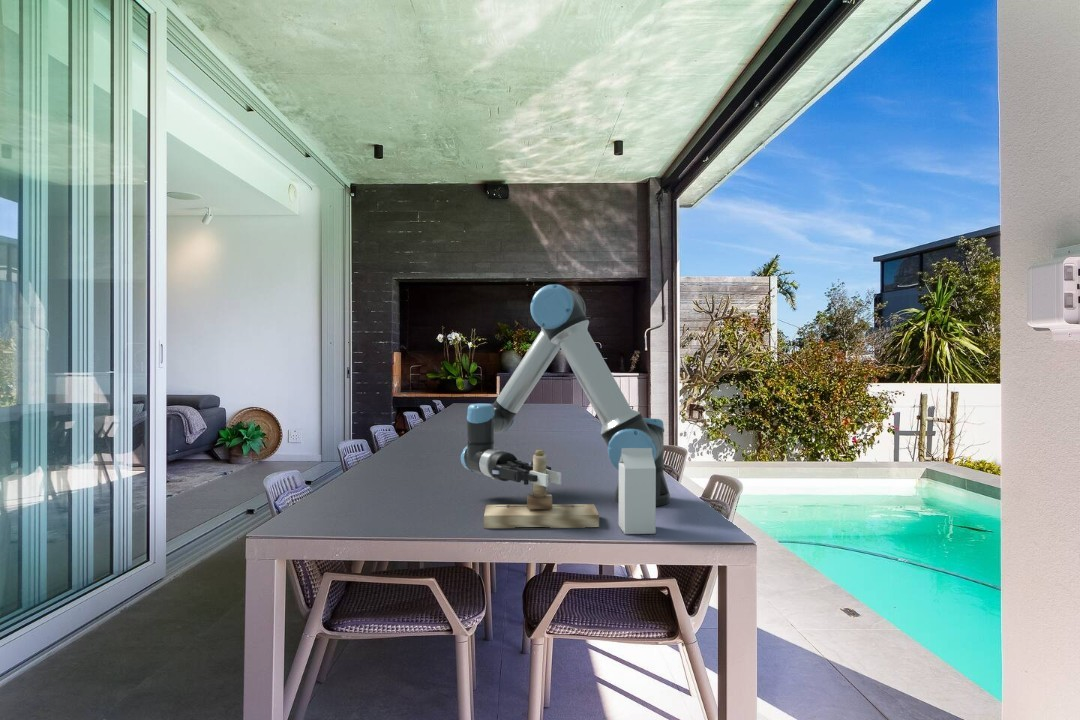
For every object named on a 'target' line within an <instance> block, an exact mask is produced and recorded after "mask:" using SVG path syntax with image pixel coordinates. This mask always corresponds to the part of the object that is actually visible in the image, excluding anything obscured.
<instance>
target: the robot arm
mask: <svg viewBox="0 0 1080 720" xmlns="http://www.w3.org/2000/svg"><path fill="white" fill-rule="evenodd" d="M586 310H587V309H586V304H585V301H584V299H583V297H582V296H581V295H580V293H578V292H577V291H574V290H572V289H569V288H568V287H566V286H564V285H562V284H547V285H545V286H542V287H541V288H539V289H538V290H537V291H535V293H534V295H533V296H532V299H531V302H530V315H531V317H532V319H533V321H534V322H535V323H536V325H537V326H539V327H540V329H541V330H540V332H539V333H538V335H537V336H536V337H535V339H534V341H533V342H532V344H531V345H530V346H529V348H528V350H527V351H526V353H525V355H524V356H523V358H522V359H521V361H520V362H519V363H518V366H517V367H516V368H515V370H514V371H513V373H512V374H511V376H510V378H509V379H508V381H507V382H506V383H505V386H504V387H503V388H502V390H501V391H500V393H499V394H498V396H497V398H496V400H495V401H494V402H493V404H491V403H471V404H469V405H468V407H467V415H466V425H467V426H466V429H467V430H466V432H467V433H466V434H467V435H466V437H467V439H466V440H467V442H466V446H465V447H464V448H463V449H462V452H461V454H460V462H461V465H462V466H463V468H465V469H466V470H468V471H470V472H471V473H473V474H479V475H483V476H486V477H489V478H491V479H492V480H498V481H502V482H508V481H512V482H515V483H521V482H522V481H523V485H525V486H528V485H529V483H532V484H533V483H535V484H538V485H542V486H545V487H546V488H547V487H549V483H551V484H556V485H562V472H559V471H555V470H552V467H551V466H548V465H547V464H546V474H543V473H540V472H536V471H533V460H532V461H530V462H529V463H528V462H524V461H522V460H519V459H518V458H517V457H516V456H515V454H513V453H511V452H508V451H504V450H500V449H495V434H500V433H504V432H507V431H508V430H509V429H511V428H512V427H513V425H514V424H515V420H516V415H517V414H518V412H519V411H520V409H521V408H522V406H523V405H524V403H525V402H526V400H527V399H528V398H529V395H530V394H531V393H532V391H533V390H534V389H535V387H536V386H537V384H538V382H539V381H540V380H541V378H542V376H543V375H544V374H545V372H546V371H547V369H548V368H549V366H550V364H551V363H552V361H554V359H555V357H556V356H557V354H558V352H559V351H560V350H561V352H562V354H563V355H564V357H565V359H566V361H567V363H568V365H569V366H570V368H571V370H572V372H573V374H574V375H575V378H576V379H577V381H578V383H579V385H580V387H581V388H582V390H583V392H584V393H585V396H586V397H587V399H588V401H589V403H590V405H591V406H592V408H593V410H594V412H595V414H596V416H597V418H598V420H599V421H600V424H601V430H600V435H601V437H602V438H603V441H604V443H605V445H606V446H607V454H608V459H609V460H610V463H611V464H612V466H613V467H614V468H616V469H617V470H618V471H619V460H620V457H621V453H622V448H652V455H653V459H654V463H655V467H656V507H658V506H659V507H660V506H665V505H667V504H669V503H671V497H670V496H671V494H670V490H669V488H668V484H667V481H666V477H665V473H664V447H665V445H664V437H665V436H664V434H665V433H664V432H665V428H664V421H663V420H662V419H660V418H649V417H643V415H642V414H641V412H640V411H638V410H635V409H633V408H631V406H630V405H629V403H628V400H627V399H626V397H625V395H624V393H623V392H622V390H621V387H620V386H619V384H618V382H617V381H616V378H615V377H614V375H613V374H612V372H611V370H610V368H609V366H608V365H607V363H606V361H605V360H604V359H605V358H604V357H603V356H602V354H601V352H600V350H599V348H598V347H597V345H596V343H595V341H594V340H593V338H592V336H591V334H590V332H589V331H588V327H589V324H590V321H589V319H588V317H587V315H586V312H587V311H586ZM614 500H615V502H617V503H619V480H618V482H617V484H616V487H615V491H614Z"/></svg>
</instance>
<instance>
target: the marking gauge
mask: <svg viewBox="0 0 1080 720" xmlns="http://www.w3.org/2000/svg"><path fill="white" fill-rule="evenodd" d="M544 453H545V452H544V449H536V450H535V454H533V455H532V461H533V471H536V472H540V473H543V474H546V465H547V454H544ZM526 501H527V502H526V505H527V509H552V504H553V495H552V494H550V493H549V494H548V493H547V487H545V486H542V485H538V484H535V483H532V494H527V495H526Z"/></svg>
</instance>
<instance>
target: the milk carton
mask: <svg viewBox="0 0 1080 720" xmlns="http://www.w3.org/2000/svg"><path fill="white" fill-rule="evenodd" d="M618 481H619V502H618V526H619V528H620V529H621V530H622V532H623V533H624V534H625V535H640V534H641V535H648V534H649V535H653V534H656V533H657V531H656V528H657V527H656V518H657V517H656V515H657V514H656V511H657V510H656V509H657V508H656V507H657V506H656V467H655V463H654V459H653V455H652V448H622V453H621V457H620V460H619V470H618Z"/></svg>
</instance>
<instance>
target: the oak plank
mask: <svg viewBox="0 0 1080 720" xmlns="http://www.w3.org/2000/svg"><path fill="white" fill-rule="evenodd" d="M515 527H550V528H549V529H577V528H578V529H581V528H583V529H586V528H585V527H599V528H600V514H599V512H598V510H597V508H596V506H595V504H593V503H591V504H590V503H587V504H585V503H584V504H583V503H581V504H580V503H579V504H578V503H577V504H571V503H570V504H569V503H568V504H558V503H557V504H553V503H552V509H527V504H486V505H485V509H484V515H483V529H516V528H515Z"/></svg>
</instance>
